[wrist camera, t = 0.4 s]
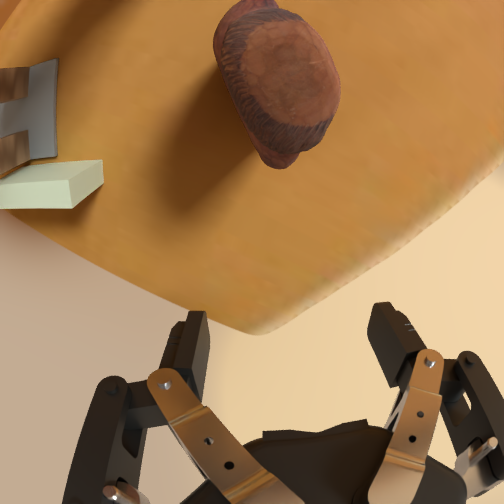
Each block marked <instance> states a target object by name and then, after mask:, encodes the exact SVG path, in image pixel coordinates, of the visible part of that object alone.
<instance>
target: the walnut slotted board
mask: <svg viewBox="0 0 504 504" xmlns="http://www.w3.org/2000/svg"><path fill="white" fill-rule="evenodd" d="M29 71H30V67H18V68H3V69H0V104H1V103H5V102H10V101H15V100H19V99H22V98H25V97H28V85H29ZM28 160H30V150H29V135H28V130H24V131H20V132H16V133H13V134H10V135H7V136H5V137H2V138H0V175H1V174H3V173H5V172H7V171H8V170H10V169H12V168H14V167H16V166H18V165H20V164H22V163H24V162H26V161H28Z"/></svg>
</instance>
